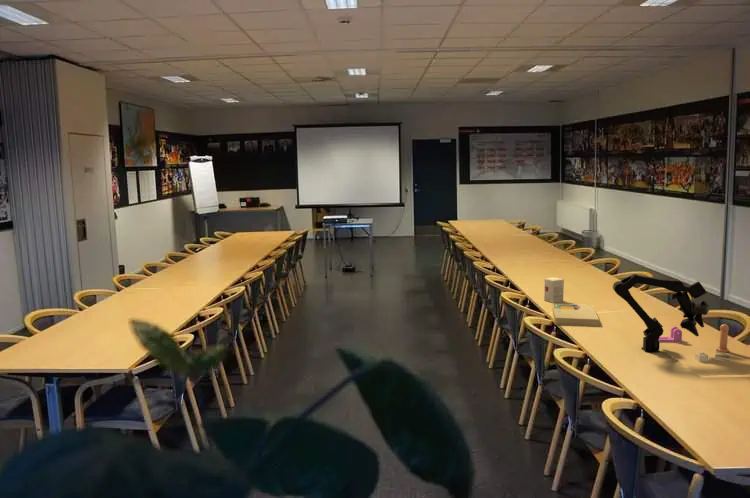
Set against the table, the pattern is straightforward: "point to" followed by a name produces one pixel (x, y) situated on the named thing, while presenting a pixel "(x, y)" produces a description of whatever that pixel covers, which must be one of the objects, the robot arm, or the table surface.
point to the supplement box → (553, 290)
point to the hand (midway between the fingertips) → (700, 331)
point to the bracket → (673, 336)
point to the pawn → (723, 338)
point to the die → (701, 357)
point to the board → (722, 356)
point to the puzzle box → (575, 314)
